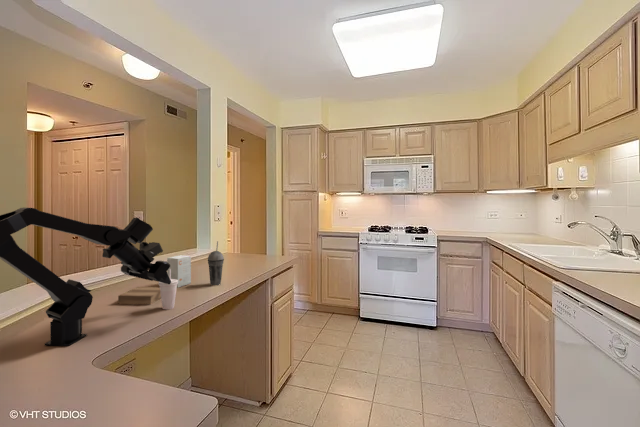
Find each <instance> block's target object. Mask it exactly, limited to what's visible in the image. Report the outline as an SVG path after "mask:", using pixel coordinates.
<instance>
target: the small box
mask: <svg viewBox="0 0 640 427" xmlns="http://www.w3.org/2000/svg"><path fill="white" fill-rule="evenodd" d="M166 261H167V262H168V263H169V264H170V268H169V269H171V279H177V280H178V284H177V289H178V288H180V287H184V286H187V285H190V284H192V256H191V255H183V254H182V255H180V254H179V255H175V256H170V257H167V260H166ZM169 269H168V270H167V274H168V276H169Z"/></svg>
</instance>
